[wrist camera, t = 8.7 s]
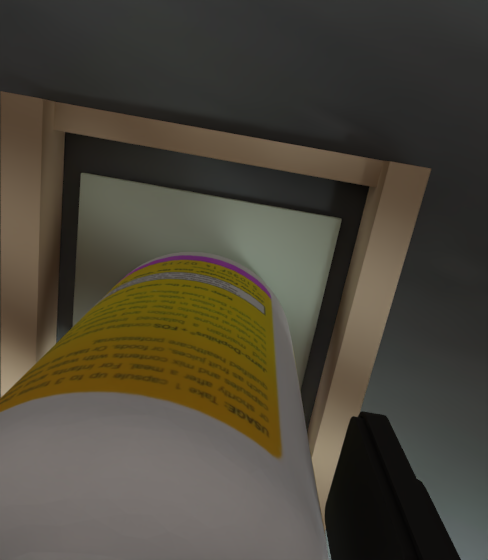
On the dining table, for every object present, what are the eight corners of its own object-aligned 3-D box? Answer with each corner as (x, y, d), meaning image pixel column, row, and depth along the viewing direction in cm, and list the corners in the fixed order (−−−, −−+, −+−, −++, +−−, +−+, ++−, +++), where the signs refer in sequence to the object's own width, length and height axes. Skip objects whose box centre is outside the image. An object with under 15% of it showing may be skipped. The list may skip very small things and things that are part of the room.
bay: (-16, 89, 13) (-329, 19, 6) (412, 166, 14) (581, 184, 6) (-10, 662, 21) (-145, 918, 14) (261, 704, 21) (262, 979, 14)
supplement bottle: (73, 285, 15) (-843, 952, 2) (250, 218, 14) (182, 747, 2) (153, 437, 17) (-152, 1266, 4) (314, 386, 16) (518, 1256, 3)
